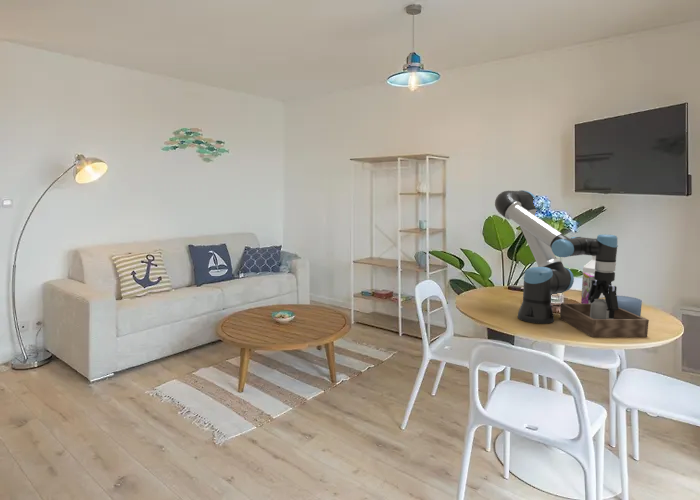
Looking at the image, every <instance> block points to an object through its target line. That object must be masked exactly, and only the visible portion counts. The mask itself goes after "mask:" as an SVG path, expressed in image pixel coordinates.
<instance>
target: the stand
mask: <svg viewBox="0 0 700 500" xmlns="http://www.w3.org/2000/svg"><path fill="white" fill-rule="evenodd" d="M617 301H618V307H619V308H621V309H624V310H626V311H628V312H631V313H633V314H635V315H638V316H640V317H642V316H641V314H642V304H643V301H642V299H640V298H636V297H633V296H625V295H617Z"/></svg>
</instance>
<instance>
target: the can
mask: <svg viewBox="0 0 700 500" xmlns="http://www.w3.org/2000/svg"><path fill="white" fill-rule="evenodd" d="M594 300H595V301H594V302H593V303H592V315H591V318H593V319H606V311H607V309H608V307H607V303H606V300H605V298H599V299H594Z"/></svg>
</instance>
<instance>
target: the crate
mask: <svg viewBox="0 0 700 500" xmlns="http://www.w3.org/2000/svg"><path fill="white" fill-rule="evenodd" d="M590 307H591V304H582V303H562V304H561V306H560V311H559V319H560V320H562V321H564V322H566V323H567V324H569V325H571V326H572V327H574V328H576V329H577V330H579V331H580V332H582V333H584V334H586V335H588V336H590V337H591V338H648V331H649V321H650V320H649V319H647V318H646V317H642V316H641V317H640V316H638V315H635V314H633V313H631V312H628V311H626V310H624V309H621V308H619V307H618V310H615V311H614V318H613V319H593V318H591V317H590Z"/></svg>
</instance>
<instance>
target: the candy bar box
mask: <svg viewBox="0 0 700 500" xmlns="http://www.w3.org/2000/svg"><path fill="white" fill-rule="evenodd" d="M594 275H595V274H594V273H583V272H582V279H583V282H582V284H581V301H580V304H591V302H590V300H588V296H589V292H590V289H591V286H592V280H595V279H594Z"/></svg>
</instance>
